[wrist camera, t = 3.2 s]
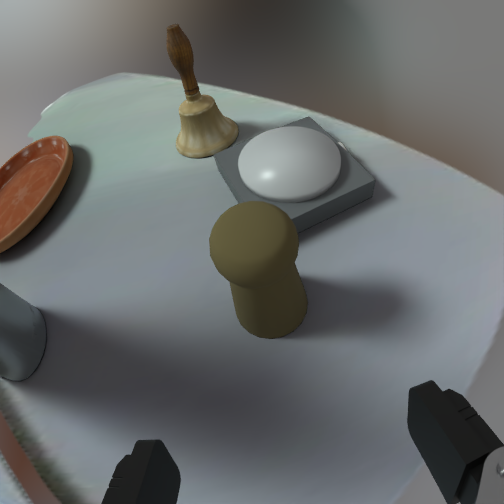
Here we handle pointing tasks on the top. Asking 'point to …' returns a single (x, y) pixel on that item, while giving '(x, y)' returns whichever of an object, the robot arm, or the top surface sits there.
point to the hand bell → (197, 106)
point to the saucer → (31, 186)
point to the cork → (260, 267)
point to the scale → (296, 172)
